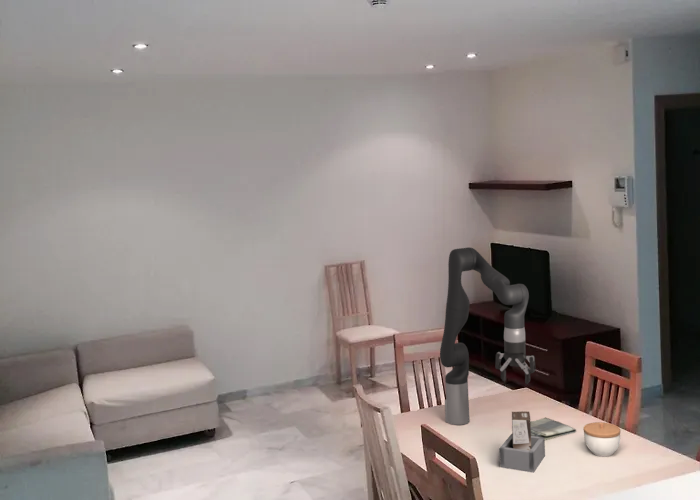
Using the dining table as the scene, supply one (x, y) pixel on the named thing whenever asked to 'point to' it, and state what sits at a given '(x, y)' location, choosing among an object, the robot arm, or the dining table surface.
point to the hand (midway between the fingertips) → (515, 381)
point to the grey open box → (522, 455)
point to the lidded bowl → (602, 438)
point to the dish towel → (549, 428)
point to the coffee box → (521, 430)
